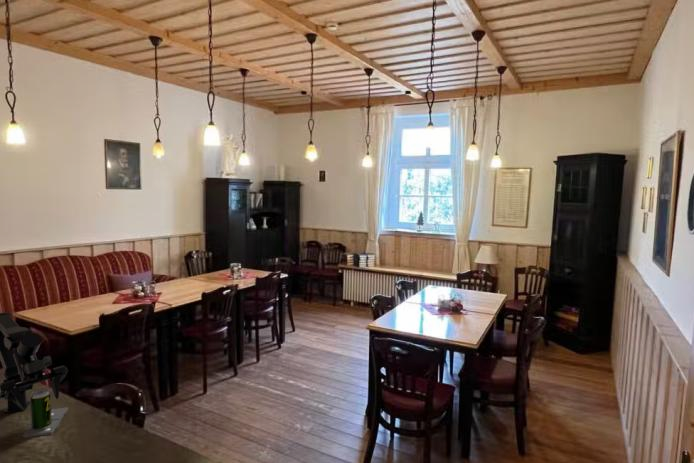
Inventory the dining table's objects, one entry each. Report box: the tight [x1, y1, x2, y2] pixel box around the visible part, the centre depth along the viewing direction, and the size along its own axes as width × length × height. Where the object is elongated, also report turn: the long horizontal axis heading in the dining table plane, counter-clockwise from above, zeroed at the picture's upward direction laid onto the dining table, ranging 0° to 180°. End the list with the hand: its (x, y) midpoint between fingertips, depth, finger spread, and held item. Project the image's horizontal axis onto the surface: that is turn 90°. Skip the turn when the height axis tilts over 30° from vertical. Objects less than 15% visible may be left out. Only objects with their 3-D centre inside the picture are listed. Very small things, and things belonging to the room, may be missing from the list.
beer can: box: [29, 387, 52, 431], centre depth 139 cm, size 5×5×12 cm
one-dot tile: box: [51, 407, 69, 420], centre depth 148 cm, size 8×8×1 cm
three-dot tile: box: [22, 419, 62, 439], centre depth 140 cm, size 8×8×1 cm
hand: (41, 403), depth 139 cm, fingers open, 9 cm apart
